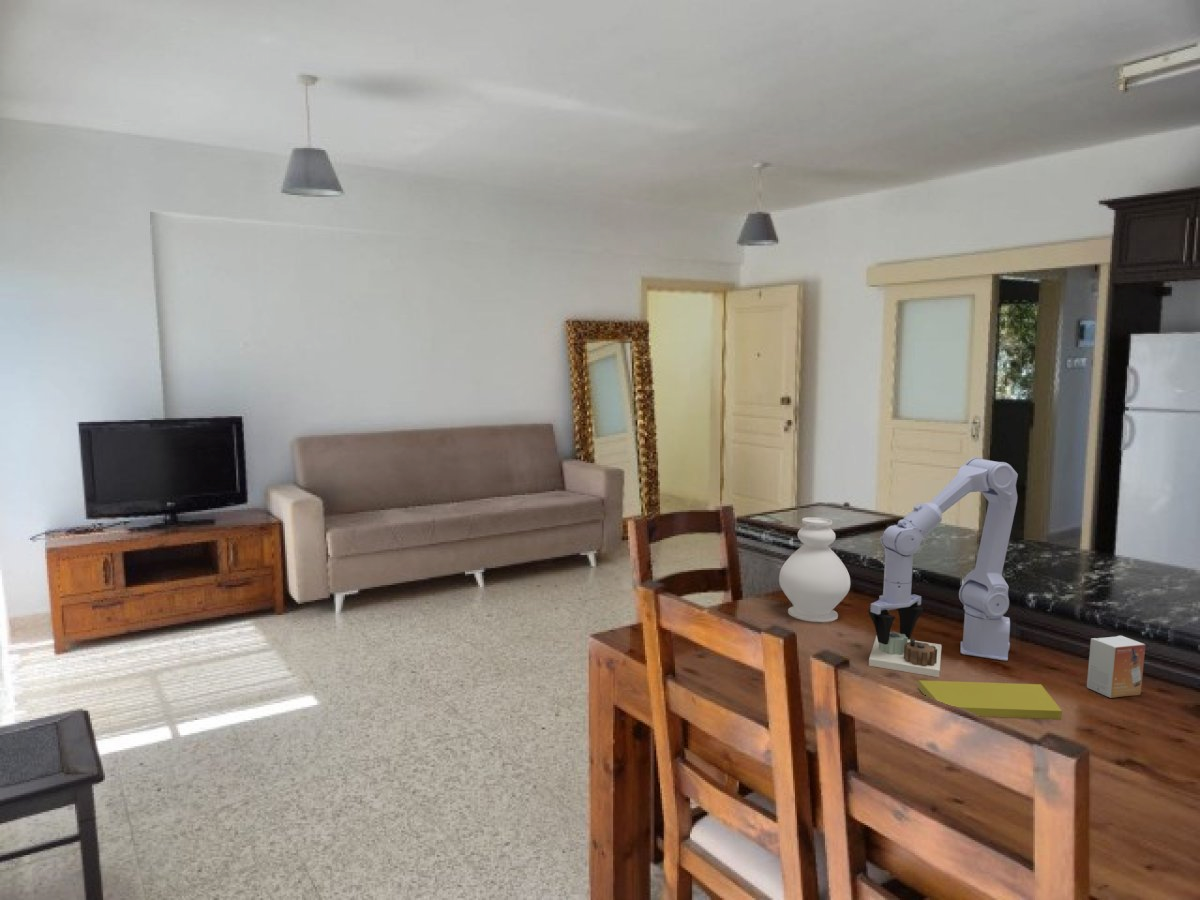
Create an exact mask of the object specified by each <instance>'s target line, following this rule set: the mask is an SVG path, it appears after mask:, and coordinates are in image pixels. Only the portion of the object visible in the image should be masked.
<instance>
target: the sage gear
mask: <svg viewBox="0 0 1200 900" xmlns="http://www.w3.org/2000/svg"><path fill="white" fill-rule="evenodd" d="M893 633H896V634H897V635H898V637H891V635H892V634H893ZM908 640H909V639H908V637H906V635H905V634H900V632H898V631H890V635H889V641H888V644H886V645H885V644H882V643H879V649H881V650H880V651H882V652H886V653H889V654H891V655H893V654H899V655H903V653H904V645H905V644H907V641H908Z"/></svg>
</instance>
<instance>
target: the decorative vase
mask: <svg viewBox="0 0 1200 900" xmlns="http://www.w3.org/2000/svg"><path fill="white" fill-rule="evenodd" d="M801 523H802V524H804V526H802V527H801V528H800V529H799V530H798V531H797V538H798V539H799V541H800V542H801V543H802V544H803V545H802V546H800V547H799V548H798V549H796V550H795V551H794V552H793V553H792V554H791V555H790V556H789V557H788V558H787V559H786V561H785V562H784V564H783V565H782V566H781V569H780V571H779V576H778V581H779V587H780V588H781V590H782V592H783V593H784V595H785V596H786V597H787V598H788V599H787V600H789V602H790V603H791V604H792V606H790V607H789V608H788V609H787V613H788V615H789V616H791V617H792V618H795V619H797V620H801V621H803V622H804V621H805V622H812V623H828V622H833V621H834V622H835V621H836V620H837V619H838V617H839V614H838V612H837V611H835V608H836V606H838V605H839V604H840V603H841V602H842V601H843V600H844V599H845V597H846V596H847V595H848V593H849V591H850V589H851V577H850V574H849V573H850V572H848V569H847V567H846V566H845V564H844V563H843V561H842V560H841V559H840V557H839V556H838V555H837V554H836V553H835V552H834V551H833V550H832V548H830V547H829V546H830V545H831V544H833V543H834V541H836V532H834V530H832V529H833V528H831V527H829V526H831V525H833V520H832V519H830V518H825V517H817V516H815V517H813V516H811V517H810V516H809V517H808V516H807V517H803V518H802V519H801Z"/></svg>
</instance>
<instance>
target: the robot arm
mask: <svg viewBox="0 0 1200 900" xmlns="http://www.w3.org/2000/svg"><path fill="white" fill-rule="evenodd" d="M1018 475H1019V473H1017V471H1016V470H1015V469H1014V468H1013V467H1012V465H1011V464H1009V463H1007V462H1005V461H994V460H989V459H985V458H984V459H983V458H981V457H972V458H970V459H968V460H967V461H966V462H965V464H964V465H961V466H960V467H959V468H958V472H957V475H955V476H954V477H953V479H951V481H950V482H948V483H947V484H946V486H945V487H944V488H943V489H942V490H941V491H940V492H939V493H938V494H937V495H936V496H935V497H934V498H933V499H931V501H930V502H921V503H919V504H918V503H917V504H915V505H914V506H913V510H911V511H910V512H909V513H908V514H907V515H906V516H905V517H903V519H899V520H898V521H897V524H894V525H890V526H888V527H886V529H885V530H884V531H883V534H882V536H880V543H881V545H882V547H883V549H884V571H883V572H884V573H883V574H884V575H883V590H882V591H883V592H882V594H881V595H879V598H878V600H876V601H874V602H872V603H870V608H869V609H868V615H869V617H870V618H871V621H872V623H873V626H874V629H875V633H876V636H877V639H878V642H879V643H882V644H885V645H886V644H888V641H889V635H890V632H891V629H892V625H893V622H894V620H895V619H896V616H894V615H892V614H890V612H888V611H893V610H897V611H898V617H899V633H900V634H905V635H906V637H908V640H910V638H912V634H913V631H914V628H915V626H916V624H917V622H918V620H919V618H920V616H921V615H922V614H923V612H924V608H923V607H922V606H921V605H922V596H921V595H917V594H914V593H913V594H912V580H913V565H914V564H913V563H914V554H915V553H917V552H918V550H919V549H920V546H921V543H922V541H923V540H924V538H925V537H926V536H927V535H928V534H929V533H930V532H932V531H933V530H934V529H935V528H936V527H937V526H939V524H941V522H942V519H943V518H942V517H943V515H942V514H943V513H945V512H946V511H947V510H949V509H950V508H951V507H953V506H954V505H955V504H956V503H958V502H959V501H961V500H962V499H963V498H965V497H966V496H967V495H968V494H970V493H979V492H980V493H981V494H982V496H984V498H985V499H986V500H987V502H988V503H987V504H988V505H987V509H986V514H985V517H984V518H985V519H984V523H983V528H982V533H981V538H980V544H979V548H978V552H977V559H976V563H975V566H974V567H975V568H974V569H972V570H971V571H970V572H968V573H967V574H966V575H965V579H964V582H963V583H962V584H961V586H960V588H959V591H958V598H959V600H960V602H961V603H962V605H963V610H964V621H963V635H962V636H963V637H962V641H960V654H962V655H966V656H973V657H979V658H985V659H992V660H998V661H999V660H1000V661H1005V662H1007V661H1008V659H1009V651H1010V647H1011V642H1010V634H1011V633H1010V632H1011V620H1010V617H1008V616H1004V615H1005V614H1006V613H1007V611H1008V609H1009V606H1010V599H1009V588H1010V587H1009V585H1008V583H1007V582H1006V580H1005V578H1004V576H1003V571H1004V567H1005V566H1004V565H1005V562H1006V561H1005V560H1006V556H1007V551H1008V547H1009V542H1010V537H1011V532H1012V527H1013V522H1014V518H1015V517H1014V516H1015V513H1016V507H1017V503H1018V492H1017V480H1018V477H1019V476H1018Z"/></svg>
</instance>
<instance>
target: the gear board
mask: <svg viewBox="0 0 1200 900" xmlns="http://www.w3.org/2000/svg"><path fill="white" fill-rule="evenodd" d="M891 637H898V635H897V634H896V633H893V634H892V635H891ZM908 642H910V639H908V641H907V643H908ZM915 642H920V643H927V644H929V645H930V646H935V647H936V649H937V662H936V663H934V665H933V666H931V665H927V666H922V665H919V664H917V665H915V664H912V662H907V661H905V658H904V653H903V655H899V654H893V655H891V654H889V653H886V652H882V651H880V650H881V649H879V642H878V639H877V635H875V639H874V643H873V646H872V648H871V652H870V655H869V658H868V666H869V667H876V668H881V669H887V670H892V671H899V672H905V673H910V674H917V675H923V676H929V677H935V678H940V672H941V660H942V659H941V658H942V644H941V643H934V642H926V641H919V640H915Z"/></svg>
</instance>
